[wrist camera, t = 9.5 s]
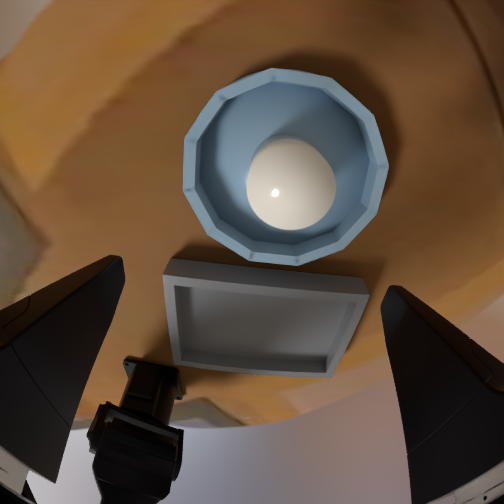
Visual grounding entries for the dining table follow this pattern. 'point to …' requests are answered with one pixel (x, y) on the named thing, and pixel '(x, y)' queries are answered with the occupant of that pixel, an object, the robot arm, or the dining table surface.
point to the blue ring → (270, 124)
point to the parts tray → (260, 318)
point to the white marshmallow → (289, 183)
